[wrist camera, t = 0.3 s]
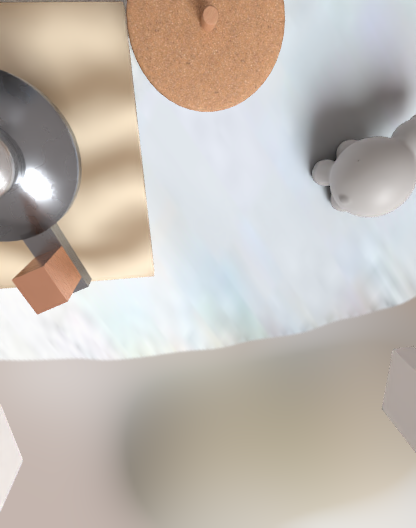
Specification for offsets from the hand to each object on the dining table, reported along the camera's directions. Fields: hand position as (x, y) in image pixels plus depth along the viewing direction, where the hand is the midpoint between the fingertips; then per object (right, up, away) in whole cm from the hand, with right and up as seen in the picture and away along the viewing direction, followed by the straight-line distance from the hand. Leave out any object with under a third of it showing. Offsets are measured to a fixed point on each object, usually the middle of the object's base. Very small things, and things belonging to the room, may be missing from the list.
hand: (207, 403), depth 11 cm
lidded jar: (-1, +24, +18) cm, 30 cm away
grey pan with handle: (-15, +10, +14) cm, 23 cm away
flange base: (-16, +15, +19) cm, 30 cm away
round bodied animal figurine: (+16, +16, +23) cm, 33 cm away
